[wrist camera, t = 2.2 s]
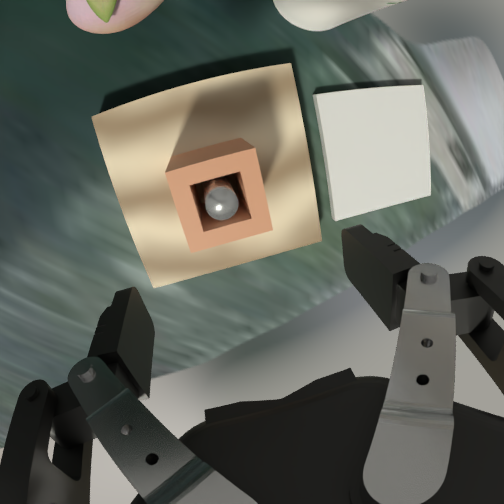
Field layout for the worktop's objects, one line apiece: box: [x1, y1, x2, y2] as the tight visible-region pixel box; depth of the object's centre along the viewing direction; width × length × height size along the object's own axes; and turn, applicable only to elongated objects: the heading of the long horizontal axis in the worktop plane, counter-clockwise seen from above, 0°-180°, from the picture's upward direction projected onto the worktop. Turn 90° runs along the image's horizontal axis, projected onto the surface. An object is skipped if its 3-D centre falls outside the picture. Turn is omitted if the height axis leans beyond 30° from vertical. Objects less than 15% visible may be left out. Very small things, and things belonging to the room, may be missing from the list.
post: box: [202, 175, 238, 220], centre depth 22 cm, size 2×2×6 cm
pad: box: [313, 85, 431, 221], centre depth 28 cm, size 12×12×1 cm
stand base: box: [92, 63, 322, 288], centre depth 26 cm, size 16×16×2 cm
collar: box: [165, 138, 273, 253], centre depth 22 cm, size 6×6×6 cm
